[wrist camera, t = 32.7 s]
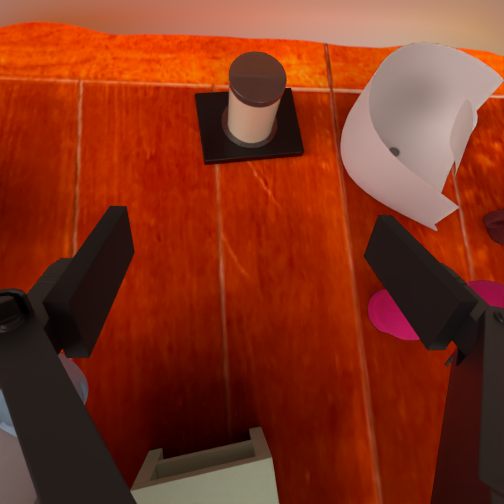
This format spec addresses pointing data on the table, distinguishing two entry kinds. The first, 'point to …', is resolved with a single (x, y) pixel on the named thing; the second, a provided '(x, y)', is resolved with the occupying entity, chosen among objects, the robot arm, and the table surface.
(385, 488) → the table surface
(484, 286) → the pepper mill
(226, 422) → the table surface
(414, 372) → the table surface
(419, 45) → the white curved piece
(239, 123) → the jar
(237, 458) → the small table
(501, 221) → the mug
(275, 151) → the hob plate
